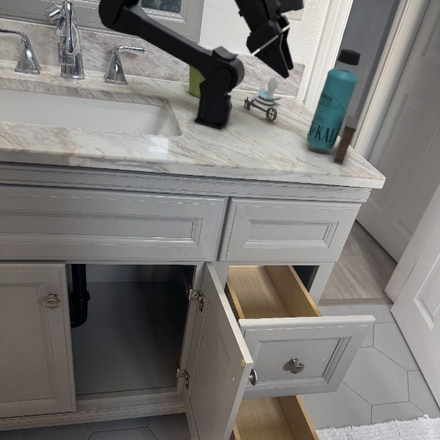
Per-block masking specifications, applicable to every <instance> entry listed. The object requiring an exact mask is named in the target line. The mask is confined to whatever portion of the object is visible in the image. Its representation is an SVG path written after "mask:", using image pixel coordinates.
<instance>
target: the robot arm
mask: <svg viewBox="0 0 440 440" xmlns="http://www.w3.org/2000/svg"><path fill="white" fill-rule="evenodd" d="M140 1H141V0H100V1H99V3H98V7H97V13H98V17H99V20H100V23H101V24H102V25H103V26H104V27H105V28H106V29H108V30H111V31H113V32H117V33H120V34H124V35H127V36H133V37H138V38H140V39H141V40H143V41H145V42H147V43H148V44H151V45H152V46H154V47H156V48H158V49H160V50H161V51H163V52H165V53H166V54H168V55H170V56H172V57H173V58H176V59H177V60H179V61H180V62H182V63H185V64H186V65H188V66H189V65H190V66H192V67H193V68H195V69H197V70H198V71H199V72H200V73H201V75H202V76H203V77H204V78H205V80H204V81H203V82H201V83H200V84H199V89H200V97H199V101H198V107H197V115H196V117H195V118H194V119H193V122H195V123H198V124H201V125H205V126H209V127H211V128H215V129H217V130H222V129H223V128H224V127H225V126H226V125H228V124H229V122H230V119H231V114H232V108H233V104H232V103H231V102H232V101H231V100H232V95H231V93H232V91H233V90H234V89H235V88H237V87H238V86H239V85H240V84H241V83H242V82H243V81H244V79H245V75H246V69H245V65H244V62H243V60H241V59H240V58H238V56H239V54H238V53H233V52H231V51H229V50H228V49H227V48H226V47H224V46H223V45H219V46H217V47H215V48H213V49H212V50H209V49H207V48H205V47H204V46H202V45H200V44H198V43H196V42H194V41H193V40H191V39H189V38H188V37H185V36H183V35H182V34H180V33H178V32H177V31H175V30H173V29H171V28H169V27H168V26H166V25H164V24H162V23H161V22H159V21H157V20H155V19H153V18H152V17H150V16H149V15H148V13H146V11H145V10H144V9H143V8H142V7H141V6H140V4H139V3H140ZM233 1H234V3H235V4H236V6H237V8H238V11H237V13H238V15H239V16H240V18H243V21H244V22H245V24H246V25H247V27H248V29H249V31H250V32H249V35H248V36H247V37H246V42H245V47H246V48H247V51H248V52H249V53H250V55H253V56H254V58H257V59H258V60H259V61H261V62H262V63H263V64H265V65H266V66H267V67H269V68H270V69H271V70H273V71H274V72H275V73H276V74H277V75H279V76H280V77H281V78H283V79H285V80H286V79H288V78H289V77H290V72H291V71H292V70H293V69H294V68H295V66H294V61H293V58H292V54H291V51H290V50H291V49H290V47H289V46H290V45H289V42H288V36H289V34H290V30H291V27H290V24H291V23H290V21H289V19H288V18H287V15H285V13H289V12H293V11H294V12H297V11H300V10H303V9H305V5H304V0H233ZM288 26H289V27H288ZM285 28H286V29H285ZM256 51H257V52H256ZM289 71H290V72H289Z"/></svg>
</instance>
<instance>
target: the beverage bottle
mask: <svg viewBox="0 0 440 440" xmlns="http://www.w3.org/2000/svg"><path fill="white" fill-rule="evenodd" d="M360 58H361V53H360V52H357V51H355V50H352V49H346V48H342V49H341V50H340V52H339V55H338V57H337V61H338V62H340V63H342V64H344V65H350V66H354V67H356V66H359V63H360ZM358 81H359V78H358V76H357V73H356V72H355V71H354V70H351V69H349V68H346V67H341V66H334V67H332V68H331V69H330V70H328V71H327V74H326V77H325V81H324V84H323V87H322V90H321V91H320V93H319V95H320V96H319V98H318V101H317V104H316V107H315V111H314V113H313V117H312V120H311V123H310V124H309V126H310V127H309V128H308V132H307V135H306V142H307V144H309V145H310V146H311V147H314V148H318V149H321V150H332V149H333V148H334V147H335V145H336V143H337V139H338V137H339V134H340V131H341V129H342V126H343V123H344V121H345V120H344V119H345V117H346V115H347V111H348V108H349V105H350V102H351V100H352V97H353V95H354V91H355V89H356V86H357V83H358Z"/></svg>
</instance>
